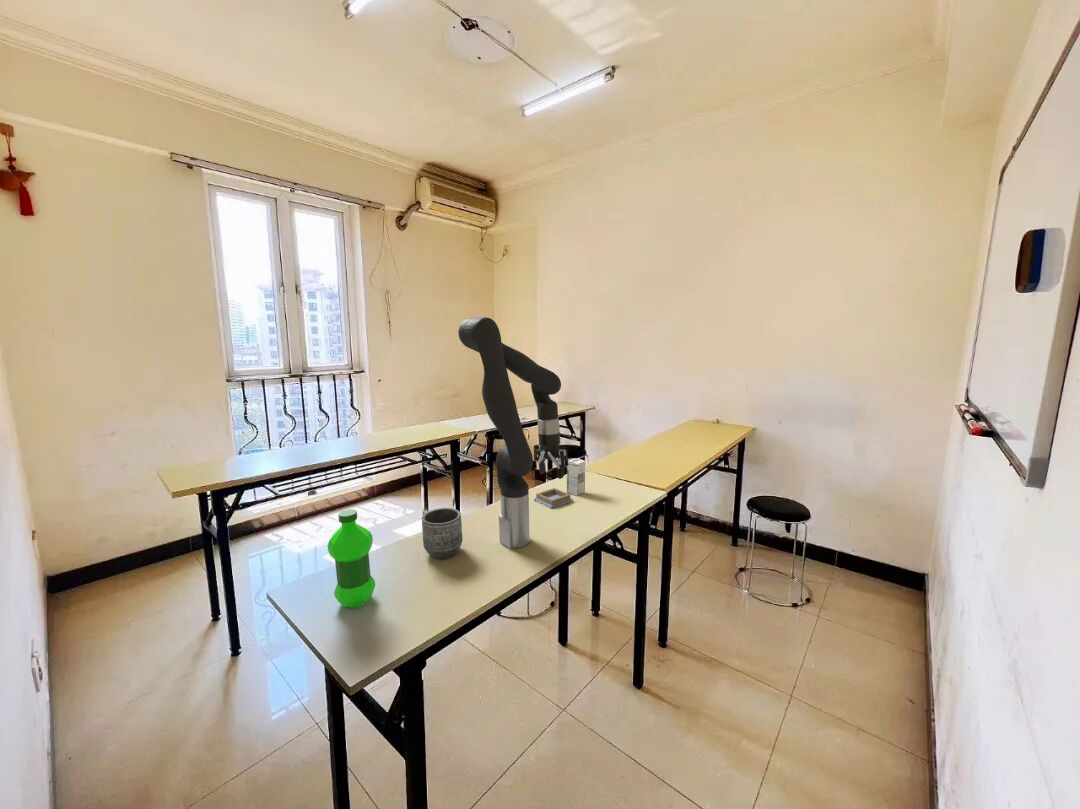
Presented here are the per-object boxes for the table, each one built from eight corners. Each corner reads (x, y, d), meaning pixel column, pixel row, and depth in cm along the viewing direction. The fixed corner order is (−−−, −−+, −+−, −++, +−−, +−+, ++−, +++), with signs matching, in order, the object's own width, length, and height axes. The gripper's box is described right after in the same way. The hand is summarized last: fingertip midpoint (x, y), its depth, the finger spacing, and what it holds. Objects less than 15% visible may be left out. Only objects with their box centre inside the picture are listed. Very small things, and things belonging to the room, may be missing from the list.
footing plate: (550, 508, 168) (550, 502, 168) (533, 500, 177) (533, 493, 176) (572, 500, 176) (572, 494, 175) (555, 493, 184) (555, 487, 184)
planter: (428, 567, 128) (426, 527, 126) (420, 549, 139) (417, 512, 136) (467, 557, 133) (466, 518, 131) (456, 540, 144) (455, 504, 142)
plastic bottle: (366, 585, 119) (358, 501, 115) (384, 601, 112) (376, 512, 108) (329, 602, 112) (319, 513, 108) (345, 620, 105) (335, 525, 100)
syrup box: (574, 489, 188) (574, 457, 186) (585, 492, 185) (585, 460, 182) (566, 493, 184) (566, 461, 181) (577, 496, 180) (578, 463, 178)
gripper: (526, 430, 149) (529, 474, 152) (556, 436, 139) (559, 483, 142) (541, 426, 154) (544, 468, 157) (571, 431, 144) (574, 476, 147)
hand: (551, 475), depth 149 cm, fingers open, 8 cm apart
